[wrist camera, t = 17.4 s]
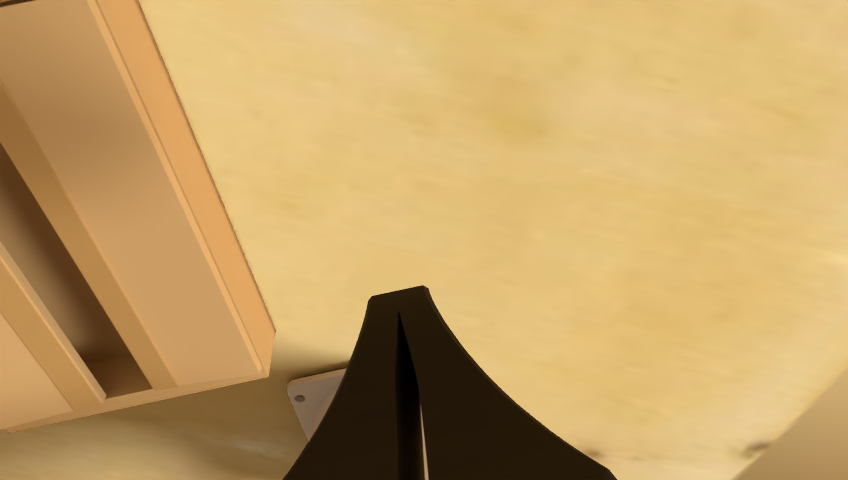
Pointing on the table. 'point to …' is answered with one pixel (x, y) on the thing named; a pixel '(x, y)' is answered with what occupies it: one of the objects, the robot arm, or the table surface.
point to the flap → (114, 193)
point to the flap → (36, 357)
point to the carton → (61, 278)
